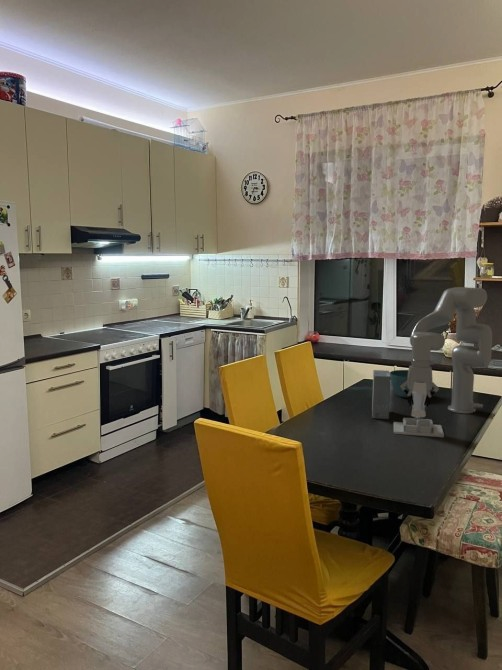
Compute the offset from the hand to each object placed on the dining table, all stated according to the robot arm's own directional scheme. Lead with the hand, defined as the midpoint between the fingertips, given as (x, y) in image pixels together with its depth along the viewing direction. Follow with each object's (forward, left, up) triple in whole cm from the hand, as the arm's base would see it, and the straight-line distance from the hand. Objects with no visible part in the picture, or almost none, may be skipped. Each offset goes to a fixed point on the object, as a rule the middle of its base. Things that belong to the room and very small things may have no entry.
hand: (418, 404), depth 236 cm
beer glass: (0, 0, -5) cm, 5 cm away
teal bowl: (+3, -61, -11) cm, 62 cm away
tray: (0, 0, -11) cm, 11 cm away
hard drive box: (+16, -21, -11) cm, 29 cm away
